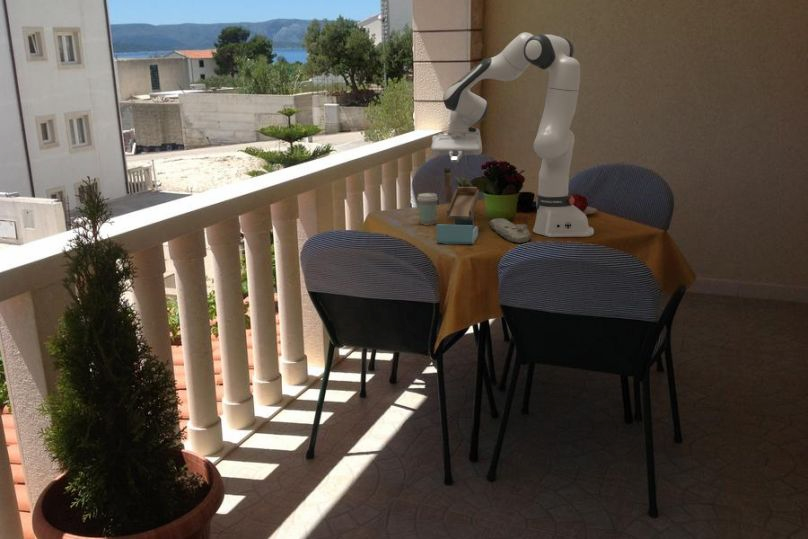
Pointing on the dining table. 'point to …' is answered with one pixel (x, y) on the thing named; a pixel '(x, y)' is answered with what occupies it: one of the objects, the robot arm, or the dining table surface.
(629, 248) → the dining table surface
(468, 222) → the fulcrum stand
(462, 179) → the house plant
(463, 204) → the walnut chute
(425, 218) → the coffee cup
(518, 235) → the elongated rock
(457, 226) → the light blue box
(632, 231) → the dining table surface
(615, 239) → the dining table surface
